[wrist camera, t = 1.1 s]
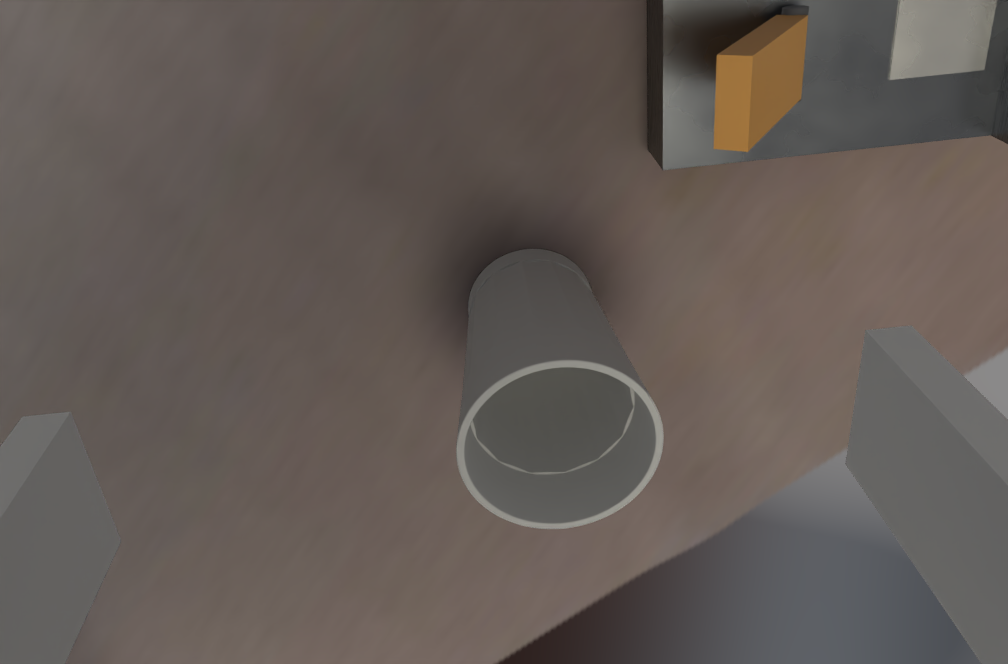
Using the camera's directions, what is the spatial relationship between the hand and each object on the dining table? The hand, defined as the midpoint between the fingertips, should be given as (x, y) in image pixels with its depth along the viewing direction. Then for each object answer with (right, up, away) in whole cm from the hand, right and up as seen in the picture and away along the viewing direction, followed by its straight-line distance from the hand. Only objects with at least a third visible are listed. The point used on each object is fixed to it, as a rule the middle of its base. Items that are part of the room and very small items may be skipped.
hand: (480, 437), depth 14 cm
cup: (+2, +3, +29) cm, 29 cm away
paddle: (+12, +13, +20) cm, 26 cm away
